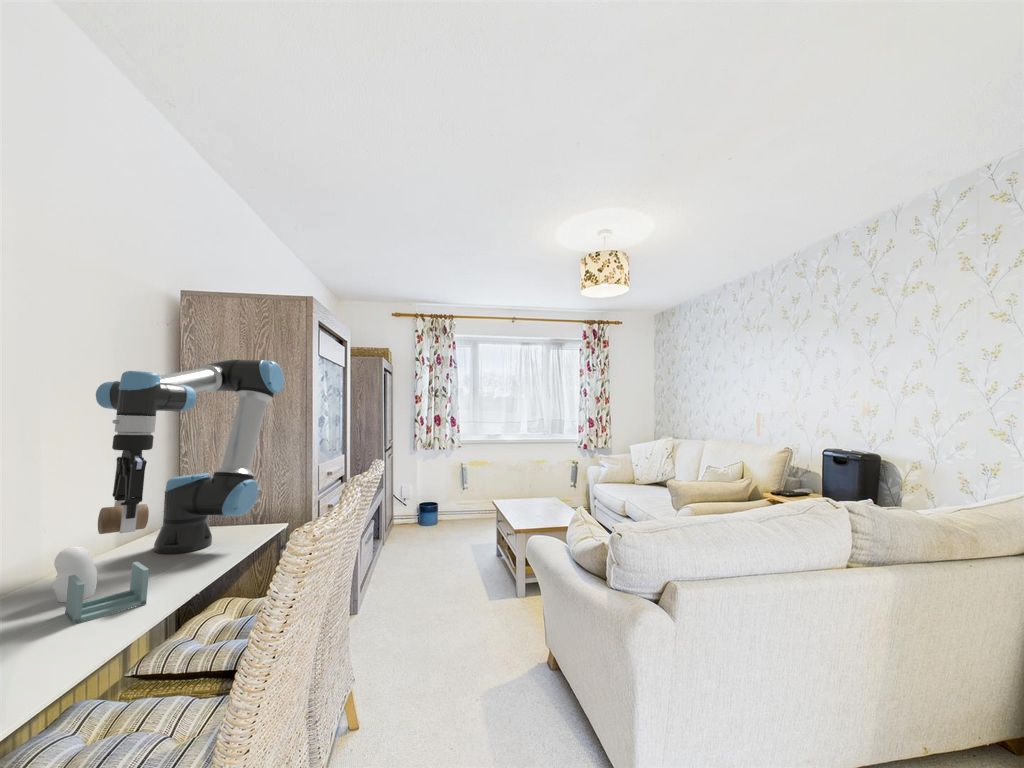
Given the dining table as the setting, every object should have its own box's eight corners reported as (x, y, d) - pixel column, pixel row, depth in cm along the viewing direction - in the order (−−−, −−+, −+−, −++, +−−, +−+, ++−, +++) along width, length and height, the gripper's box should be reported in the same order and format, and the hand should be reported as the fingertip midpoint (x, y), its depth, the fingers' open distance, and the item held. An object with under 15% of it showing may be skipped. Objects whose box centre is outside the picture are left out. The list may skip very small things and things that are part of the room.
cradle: (134, 595, 106) (137, 561, 106) (146, 604, 101) (149, 569, 102) (65, 613, 96) (68, 575, 96) (74, 624, 91) (77, 585, 92)
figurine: (53, 596, 104) (58, 545, 104) (97, 588, 108) (101, 539, 109) (48, 607, 98) (53, 553, 99) (94, 598, 103) (99, 547, 104)
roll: (139, 526, 110) (142, 502, 111) (146, 530, 106) (149, 505, 107) (96, 531, 103) (99, 506, 104) (102, 536, 100) (106, 509, 101)
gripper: (103, 432, 110) (92, 526, 108) (126, 435, 99) (113, 539, 97) (141, 432, 116) (131, 521, 114) (166, 435, 105) (155, 533, 103)
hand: (123, 529), depth 105 cm, fingers closed on roll, 6 cm apart
